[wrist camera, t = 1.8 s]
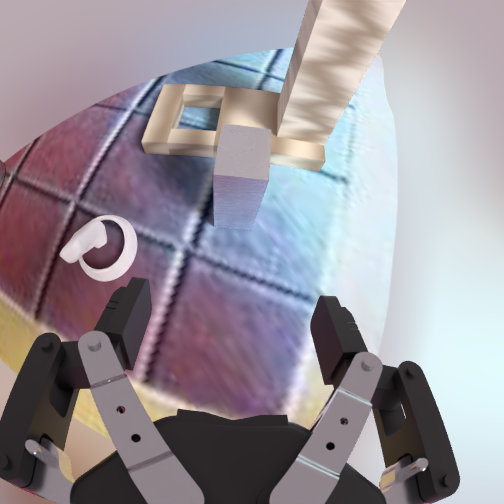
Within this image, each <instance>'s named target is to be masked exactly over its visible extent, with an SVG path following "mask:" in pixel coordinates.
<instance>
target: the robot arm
mask: <svg viewBox="0 0 504 504" xmlns="http://www.w3.org/2000/svg"><path fill="white" fill-rule="evenodd" d="M4 176H5V165H4V163H3V162H2V161H1V160H0V188H1V185H2V183H3V180H4ZM151 310H152V304H151V295H150V286H149V280H148V279H143V278H136V277H132V279H131V280H130V282H129V284H128V286H127V287H122V286H121V287H120V288H119V289H118V290H116V291H115V292H114V293H113V295H112V296H111V298H110V300H109V302H108V304H107V306H106V308H105V309H104V311H103V313H102V315H101V317H100V319H99V321H98V323H97V325H96V327H95V329H94V331H91V332H88V333H86V334H84V335H83V336H82V337H81V338H80V340H79V341H70V342H61V340H60V338H59V337H58V336H57V335H56V334H54V333H44V334H42V335H40V336H39V337H37V339H36V340H35V341H34V343H33V345H32V347H31V349H30V351H29V353H28V355H27V357H26V359H25V361H24V363H23V365H22V368H21V370H20V372H19V374H18V376H17V379H16V381H15V383H14V386H13V388H12V391H11V393H10V396H9V398H8V401H7V403H6V406H5V409H4V412H3V415H2V417H1V420H0V478H2V479H4V480H6V481H7V482H9V483H11V484H13V485H14V486H16V487H18V488H20V489H22V490H24V491H26V492H29V493H31V494H33V495H37V496H40V497H42V498H46V499H49V500H51V501H54V502H56V503H58V504H432V503H434V502H437V501H439V500H441V499H444V498H446V497H448V496H450V495H452V494H454V493H455V492H456V490H457V489H458V486H459V483H460V476H459V471H458V468H457V465H456V461H455V457H454V454H453V450H452V447H451V445H450V441H449V438H448V435H447V432H446V429H445V426H444V423H443V420H442V418H441V415H440V412H439V410H438V407H437V405H436V402H435V399H434V397H433V395H432V392H431V390H430V387H429V385H428V382H427V380H426V377H425V375H424V373H423V371H422V369H421V368H420V367H419V366H418V365H417V364H416V363H414V362H411V361H405V362H402V363H401V364H400V365H399V367H398V368H396V367H390V366H386V365H382V362H381V361H380V359H379V358H378V357H377V356H375V355H374V354H372V353H369V352H368V350H367V348H366V345H365V343H364V341H363V338H362V336H361V334H360V331H359V330H358V327H357V325H356V324H355V320H354V318H353V316H352V314H351V313H350V312H349V311H348V310H347V309H346V308H345V307H341V306H340V303H339V301H338V299H337V297H336V296H320V297H319V299H318V302H317V305H316V308H315V310H314V313H313V316H312V319H311V324H310V329H311V334H312V338H313V342H314V345H315V349H316V353H317V357H318V361H319V365H320V369H321V373H322V377H323V381H324V385H332V384H333V386H334V390H333V391H332V393H331V395H330V396H329V398H328V400H327V401H326V403H325V405H324V406H323V408H322V410H321V411H320V413H319V415H318V416H317V418H316V419H315V421H314V422H313V424H312V425H311V427H310V428H309V429H306V428H304V427H303V426H300V425H298V424H295V423H292V422H288V418H287V415H259V416H254V417H249V418H244V419H238V420H230V419H226V418H223V417H219V416H216V415H213V414H210V413H206V412H200V411H191V410H183V409H178V411H177V415H176V416H169V417H165V418H162V419H159V420H157V421H154V422H152V421H151V419H150V417H149V416H148V414H147V412H146V410H145V409H144V407H143V405H142V403H141V402H140V400H139V398H138V396H137V394H136V392H135V390H134V389H133V387H132V385H131V383H130V381H129V379H128V377H127V375H126V374H125V373H124V371H125V369H127V370H132V371H133V368H134V365H135V362H136V358H137V355H138V352H139V349H140V346H141V343H142V340H143V337H144V334H145V331H146V328H147V325H148V322H149V319H150V316H151ZM89 388H90V390H91V393H92V396H93V398H94V401H95V403H96V406H97V408H98V411H99V413H100V415H101V418H102V420H103V422H104V424H105V427H106V429H107V431H108V433H109V435H110V437H111V439H112V441H113V443H114V445H115V447H116V449H117V450H116V451H115V452H113V453H112V454H111V455H110V456H108V457H107V458H105V459H104V460H102V461H101V462H100V463H98V464H97V465H96V466H94V467H93V468H92V469H90V470H89V471H87V472H86V473H84V474H83V475H81V476H80V477H79V478H78V479H77V480H76V481H75V480H74V478H73V476H72V473H71V462H70V459H69V457H68V456H67V455H66V453H65V452H64V447H65V442H66V438H67V433H68V430H69V426H70V422H71V418H72V414H73V411H74V407H75V404H76V400H77V397H78V393H79V390H80V389H89ZM401 404H402V406H403V409H404V412H405V416H406V419H405V416H404V412H403V409H402V406H401ZM371 408H372V410H373V414H374V418H375V422H376V426H377V430H378V434H379V439H380V443H381V447H382V452H383V457H384V462H385V467H386V469H385V470H384V472H383V473H382V476H381V481H380V483H379V486H380V489H379V488H378V487H376V486H375V485H374V484H372V483H371V482H370V481H369V480H367V479H366V478H365V477H363V476H362V475H361V474H360V473H359V472H357V471H356V470H355V469H354V468H352V467H351V466H350V465H349V464H348V463H346V462H347V460H348V458H349V456H350V454H351V452H352V450H353V448H354V446H355V444H356V442H357V440H358V438H359V436H360V434H361V431H362V429H363V427H364V424H365V422H366V420H367V418H368V416H369V413H370V411H371Z"/></svg>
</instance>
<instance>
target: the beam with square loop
mask: <svg viewBox="0 0 504 504" xmlns="http://www.w3.org/2000/svg"><path fill="white" fill-rule="evenodd" d="M405 2H406V0H309V1H308V5H307V8H306V11H305V14H304V18H303V21H302V24H301V27H300V30H299V34H298V37H297V40H296V44H295V47H294V50H293V54H292V57H291V60H290V64H289V67H288V70H287V74H286V77H285V81H284V84H283V87H282V91H281V93H275V92H268V91H261V90H254V89H246V88H237V87H226V86H213V85H193V84H164V86H163V89H162V91H161V93H160V95H159V98H158V100H157V102H156V105H155V107H154V110H153V112H152V115H151V117H150V120H149V123H148V125H147V128H146V131H145V133H144V136H143V139H142V145H143V148H144V151H145V154H167V155H186V156H200V157H212V158H216V155H217V149H218V144H219V138H220V132H221V127H222V124H231V125H241V126H249V127H257V128H264V129H271V146H270V164H273V165H280V166H287V167H293V168H299V169H305V170H311V171H316V172H319V171H320V169H321V167H322V166H323V164H324V163H325V151H324V145H325V143H326V141H327V139H328V138H329V136H330V134H331V132H332V131H333V129H334V127H335V126H336V124H337V122H338V120H339V119H340V117H341V115H342V113H343V112H344V110H345V108H346V106H347V105H348V103H349V101H350V99H351V98H352V96H353V94H354V93H355V91H356V89H357V87H358V86H359V84H360V82H361V80H362V78H363V77H364V75H365V73H366V71H367V70H368V68H369V66H370V64H371V63H372V61H373V59H374V57H375V56H376V54H377V52H378V50H379V48H380V46H381V45H382V43H383V41H384V39H385V38H386V36H387V34H388V32H389V31H390V29H391V27H392V25H393V24H394V22H395V20H396V18H397V16H398V14H399V13H400V11H401V9H402V7H403V6H404V4H405ZM184 106H185V107H205V108H219V109H221V110H220V115H219V120H218V125H217V130H216V131H208V130H193V129H177V128H178V124H179V121H180V118H181V115H182V112H183V108H184Z"/></svg>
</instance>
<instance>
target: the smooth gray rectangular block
mask: <svg viewBox="0 0 504 504" xmlns="http://www.w3.org/2000/svg"><path fill="white" fill-rule="evenodd" d="M270 146H271V129H264V128H257V127H249V126H241V125H231V124H222V127H221V132H220V138H219V144H218V149H217V155H216V161H215V167H214V173H213V192H214V227H217V228H227V229H237V230H246V231H251V229H252V227H253V224H254V221H255V218H256V215H257V212H258V210H259V207H260V204H261V201H262V198H263V196H264V193H265V190H266V187H267V184H268V182H269V168H270Z"/></svg>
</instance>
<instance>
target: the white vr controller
mask: <svg viewBox="0 0 504 504" xmlns="http://www.w3.org/2000/svg"><path fill="white" fill-rule="evenodd" d="M102 220H113V221H115V222H116V223H118V224H119V225H120V227H121V228H122V230H123V233H124V238H125V243H124V248H123V252H122V254H121V256H120V257H119V259H118V260H117V261H116V262H115V263H114V264H113V265H111V266H110V267H108V268H105V269H94V268H91V267H89V266H88V265H87V264H86V263H85V262H84V260H83V257H82V255H83V254H84V253H86V252H88V251H89V250H90V249H91V248H93V247H96V248H100V247H102V246H104V245H105V244H106V242H107V236H106V230H105V226H104V224H103V223H102V222H101V221H102ZM136 252H137V237H136V233H135V231H134V229H133V227H132V226H131V224H130V223H129V222H128V221H127V220H125V219H124V218H122V217H119V216H115V215H103V216H99V217H97V218H95V219H93V220H91V221H90V222H88V223H87V224H86V225H84V226H83V227H82V228H81V229H80V230H78V231H77V232H75V233H74V235H73V236H72V237H71V240H70V241H69V242H68V243H67V244H66V245H65V246H64V248H63V249H62V250H61V252H60V256H61V257H62V258H63V259H64V260H65V261H67V262H68V263H73V262H76V261H77V260H78V259H79V262H80V265H81V267H82V268H83V270H84V271H85V273H86V274H87V275H88V276H90V277H91V278H93V279H95V280H98V281H111V280H114V279H116V278H118V277H120V276H121V275H123V274H124V273H125V272H126V271H127V270H128V269H129V267H130V266H131V265H132V263H133V261H134V259H135V255H136Z"/></svg>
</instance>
